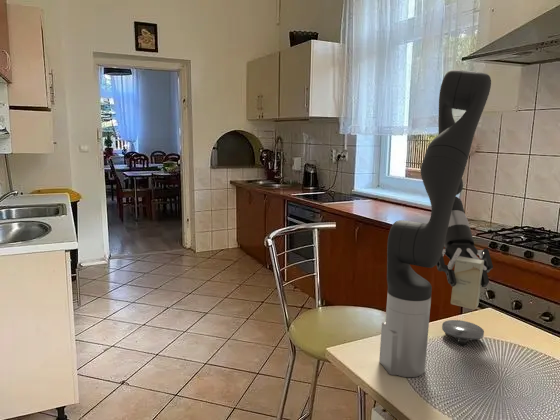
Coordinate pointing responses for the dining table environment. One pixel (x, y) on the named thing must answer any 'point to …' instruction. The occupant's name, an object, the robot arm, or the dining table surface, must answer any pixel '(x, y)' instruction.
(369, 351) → the dining table surface
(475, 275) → the skincare box
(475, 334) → the dark gray bowl
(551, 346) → the dining table surface
